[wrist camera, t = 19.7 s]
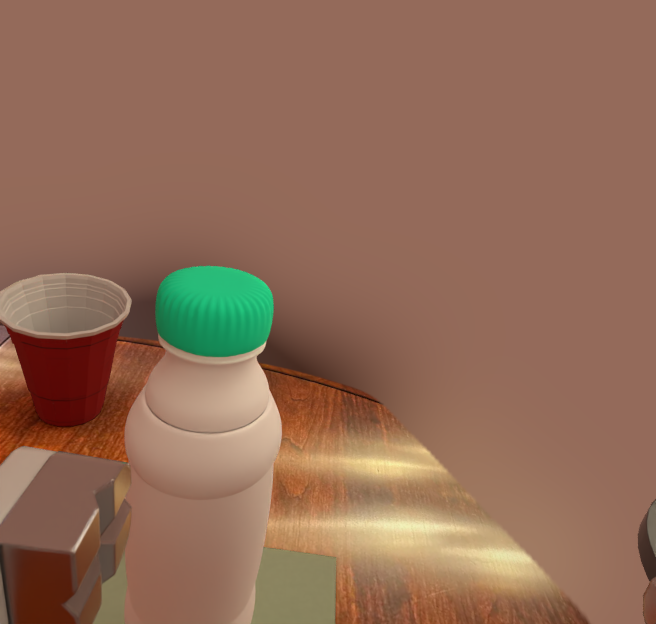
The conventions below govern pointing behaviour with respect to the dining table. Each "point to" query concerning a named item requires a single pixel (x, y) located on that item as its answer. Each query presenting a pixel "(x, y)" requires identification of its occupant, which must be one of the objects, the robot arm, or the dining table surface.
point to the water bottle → (202, 453)
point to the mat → (261, 590)
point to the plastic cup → (65, 341)
